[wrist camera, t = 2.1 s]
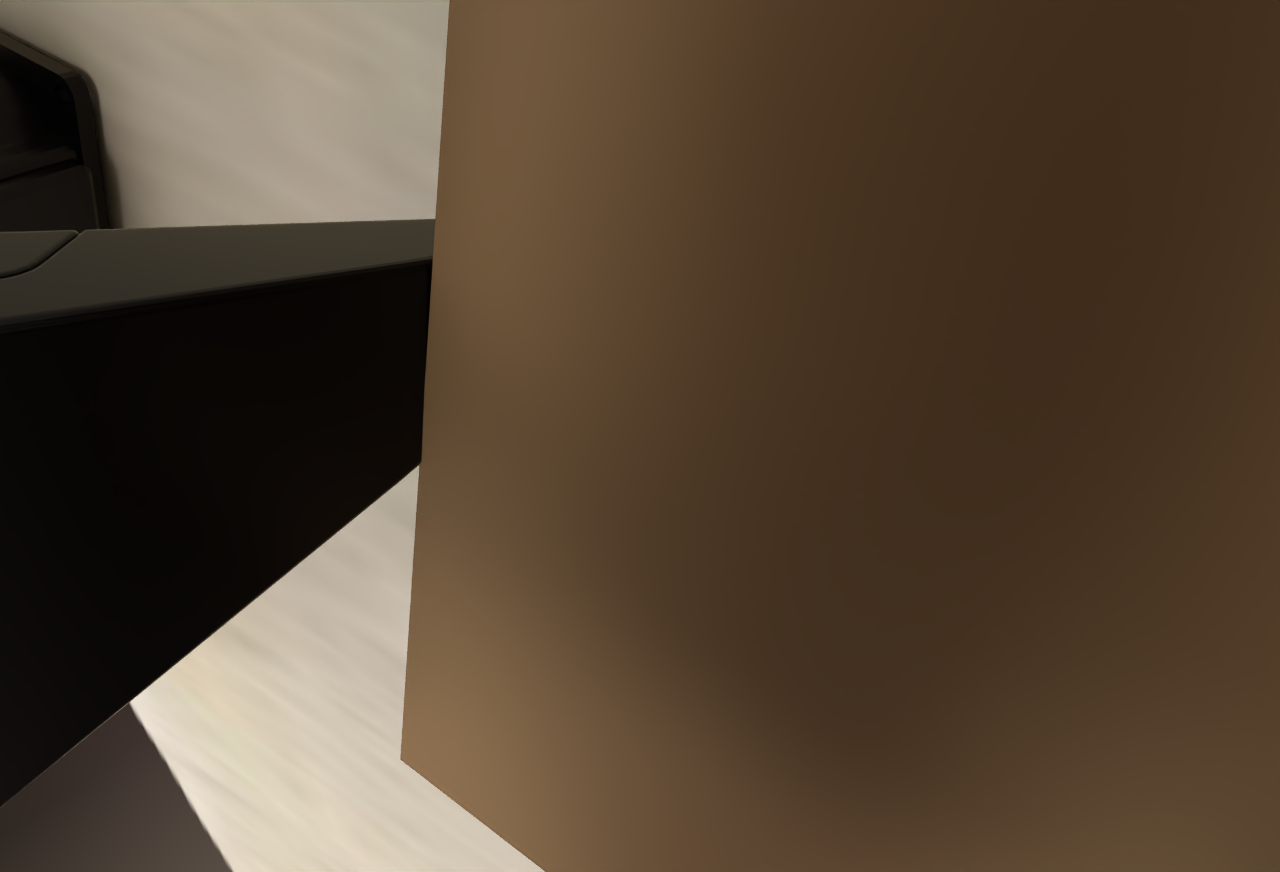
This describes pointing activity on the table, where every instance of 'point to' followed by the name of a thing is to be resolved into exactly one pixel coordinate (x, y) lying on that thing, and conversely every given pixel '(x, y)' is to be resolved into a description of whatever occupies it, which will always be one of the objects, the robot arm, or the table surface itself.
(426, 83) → the table surface
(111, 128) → the table surface
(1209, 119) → the walnut lid
